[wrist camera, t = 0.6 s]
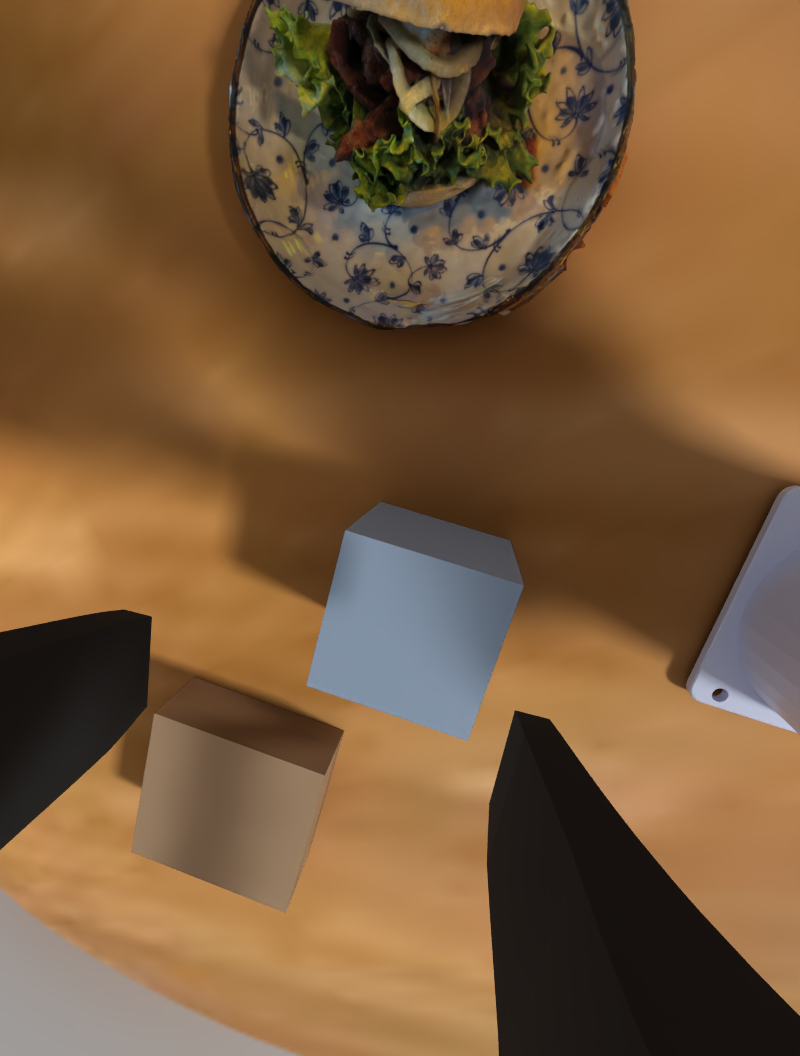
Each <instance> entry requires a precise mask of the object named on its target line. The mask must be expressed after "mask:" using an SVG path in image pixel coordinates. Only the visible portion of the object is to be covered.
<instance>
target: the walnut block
mask: <svg viewBox="0 0 800 1056" xmlns="http://www.w3.org/2000/svg"><path fill="white" fill-rule="evenodd" d="M343 733H344V731H343V730H341V729H338V728H335V727H332V726H329V725H327V724H324V723H321V722H318V721H315V720H313V719H310V718H307V717H304V716H301V715H299V714H296V713H293V712H290V711H287V710H285V709H282V708H279V707H276V706H273V705H271V704H268V703H265V702H262V701H259V700H257V699H254V698H251V697H248V696H245V695H243V694H240V693H237V692H234V691H231V690H229V689H226V688H223V687H220V686H217V685H215V684H212V683H209V682H206V681H203V680H201V679H198V678H195V677H194V678H193V679H192V680H191V681H190V682H189V683H187V684H186V685H185V686H184V687H183V688H182V689H181V690H180V691H179V692H177V693H176V694H175V695H174V696H173V697H172V698H171V699H170V700H169V701H167V702H166V703H165V704H164V705H163V706H162V707H161V708H160V709H159V710H157V711H156V712H155V713H154V718H153V724H152V730H151V736H150V742H149V748H148V754H147V760H146V766H145V772H144V778H143V784H142V790H141V796H140V802H139V808H138V814H137V820H136V826H135V832H134V838H133V844H132V850H131V852H133V853H135V854H138V855H141V856H143V857H146V858H148V859H151V860H153V861H156V862H158V863H161V864H163V865H166V866H168V867H171V868H173V869H176V870H178V871H181V872H184V873H186V874H189V875H191V876H194V877H196V878H199V879H201V880H204V881H206V882H209V883H211V884H214V885H216V886H219V887H221V888H224V889H227V890H229V891H232V892H234V893H237V894H239V895H242V896H244V897H247V898H249V899H252V900H254V901H257V902H259V903H262V904H264V905H267V906H269V907H272V908H275V909H277V910H280V911H282V912H285V913H286V911H287V908H288V906H289V903H290V901H291V898H292V895H293V893H294V890H295V888H296V885H297V883H298V880H299V877H300V875H301V872H302V870H303V867H304V864H305V862H306V859H307V857H308V854H309V850H310V847H311V843H312V840H313V837H314V833H315V830H316V826H317V823H318V819H319V816H320V812H321V809H322V805H323V802H324V798H325V795H326V791H327V788H328V785H329V781H330V778H331V774H332V771H333V767H334V764H335V760H336V757H337V753H338V750H339V746H340V743H341V740H342V736H343Z"/></svg>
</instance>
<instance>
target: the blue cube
mask: <svg viewBox="0 0 800 1056" xmlns="http://www.w3.org/2000/svg"><path fill="white" fill-rule="evenodd" d="M523 587H524V584H523V580H522V577H521V574H520V571H519V567H518V564H517V561H516V557H515V554H514V551H513V547H512V544H511V541H510V540H507V539H503V538H500V537H497V536H493V535H490V534H487V533H483V532H480V531H477V530H473V529H470V528H467V527H464V526H460V525H457V524H454V523H450V522H447V521H444V520H440V519H437V518H434V517H430V516H427V515H424V514H420V513H417V512H414V511H410V510H407V509H404V508H400V507H397V506H394V505H391V504H387V503H384V502H379V503H378V504H377V505H376V506H374V507H373V508H372V509H371V510H369V511H368V512H367V513H366V514H364V515H363V516H362V517H361V518H360V519H358V520H357V521H356V522H355V523H353V524H352V525H351V526H350V527H348V528H347V529H346V530H345V533H344V537H343V541H342V545H341V549H340V553H339V557H338V561H337V565H336V569H335V573H334V577H333V581H332V585H331V589H330V593H329V597H328V601H327V605H326V609H325V613H324V617H323V621H322V625H321V629H320V633H319V637H318V641H317V645H316V649H315V653H314V657H313V661H312V665H311V669H310V673H309V677H308V681H307V685H306V686H309V687H312V688H315V689H318V690H321V691H324V692H327V693H329V694H332V695H335V696H338V697H341V698H344V699H347V700H350V701H353V702H356V703H359V704H361V705H364V706H367V707H370V708H373V709H376V710H379V711H382V712H385V713H388V714H391V715H394V716H396V717H399V718H402V719H405V720H408V721H411V722H414V723H417V724H420V725H423V726H426V727H428V728H431V729H434V730H437V731H440V732H443V733H446V734H449V735H452V736H455V737H458V738H460V739H463V740H466V741H468V738H469V736H470V733H471V730H472V727H473V725H474V722H475V719H476V716H477V713H478V711H479V708H480V705H481V702H482V700H483V697H484V694H485V691H486V689H487V686H488V683H489V680H490V678H491V675H492V672H493V669H494V667H495V664H496V661H497V658H498V656H499V653H500V650H501V647H502V645H503V642H504V639H505V636H506V634H507V631H508V628H509V625H510V623H511V620H512V617H513V614H514V612H515V609H516V606H517V603H518V601H519V598H520V595H521V592H522V590H523Z"/></svg>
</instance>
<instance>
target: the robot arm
mask: <svg viewBox="0 0 800 1056" xmlns="http://www.w3.org/2000/svg"><path fill="white" fill-rule="evenodd" d="M151 622H152V617H151V616H147V615H143V614H139V613H135V612H132V611H128V610H116V611H107V612H100V613H94V614H89V615H83V616H78V617H73V618H68V619H63V620H58V621H53V622H48V623H43V624H38V625H33V626H29V627H24V628H19V629H14V630H9V631H4V632H0V850H1V849H2V848H3V847H4V846H5V845H6V844H7V843H8V842H9V841H11V840H12V839H13V838H14V837H15V836H16V835H17V834H18V833H19V832H20V831H22V830H23V829H24V828H25V827H26V826H27V825H28V824H29V823H30V822H31V821H33V820H34V819H35V818H36V817H37V816H38V815H39V814H40V813H41V812H43V811H44V810H45V809H46V808H47V807H48V806H49V805H50V804H51V803H52V802H54V801H55V800H56V799H57V798H58V797H59V796H60V795H61V794H62V793H64V792H65V791H66V790H67V789H68V788H69V787H70V786H71V785H72V784H73V783H74V782H76V781H77V780H78V779H79V778H80V777H81V776H82V775H83V774H84V773H85V772H86V771H87V770H89V769H90V768H91V767H92V766H93V765H94V764H95V763H96V762H97V761H98V760H99V759H100V758H101V757H103V756H104V755H105V754H106V753H107V752H108V751H109V750H110V749H111V748H112V746H113V745H114V744H115V743H116V742H117V741H118V740H119V739H120V737H121V736H122V735H123V734H124V733H125V732H126V731H127V730H128V728H129V727H130V726H131V725H132V724H133V722H134V721H135V720H136V719H137V718H138V716H139V715H140V714H141V713H142V712H143V710H144V709H145V708H146V707H147V696H148V677H149V659H150V641H151ZM686 688H687V691H688V692H689V693H690V695H691V696H692V697H693V698H694V699H695V700H697V701H699V702H701V703H705V704H708V705H711V706H714V707H717V708H720V709H723V710H726V711H729V712H733V713H736V714H739V715H742V716H745V717H748V718H751V719H754V720H757V721H761V722H764V723H767V724H770V725H773V726H776V727H779V728H782V729H785V730H789V731H792V732H795V733H798V734H799V735H800V486H795V485H793V486H789V487H786V488H785V489H783V490H782V491H781V492H780V493H779V494H778V496H777V497H776V499H775V501H774V503H773V506H772V508H771V510H770V512H769V514H768V516H767V518H766V520H765V522H764V524H763V526H762V528H761V530H760V532H759V534H758V536H757V538H756V540H755V542H754V545H753V547H752V549H751V551H750V553H749V555H748V557H747V559H746V561H745V563H744V565H743V567H742V569H741V571H740V573H739V575H738V577H737V579H736V581H735V583H734V586H733V588H732V590H731V592H730V594H729V596H728V598H727V600H726V602H725V604H724V606H723V608H722V610H721V612H720V614H719V616H718V618H717V620H716V622H715V625H714V627H713V629H712V631H711V633H710V635H709V637H708V639H707V641H706V643H705V645H704V647H703V649H702V651H701V653H700V655H699V657H698V659H697V661H696V664H695V666H694V668H693V670H692V672H691V674H690V676H689V678H688V680H687V683H686ZM719 688H721V689H722V692H721V693H720V694H719V695H716V696H713V695H712V693H713V691H714V690H716V689H719ZM487 873H488V890H489V905H490V921H491V936H492V950H493V965H494V980H495V995H496V1009H497V1024H498V1042H499V1056H800V1016H799V1015H798V1014H797V1013H796V1012H795V1011H794V1010H793V1009H792V1008H791V1007H790V1006H789V1005H788V1004H787V1003H786V1002H785V1001H784V1000H783V999H782V998H781V997H780V996H779V995H778V994H777V993H776V992H775V991H774V990H773V989H772V987H771V986H770V985H769V984H768V983H767V982H766V981H765V980H764V979H763V978H762V977H761V976H760V975H759V974H758V973H757V972H756V971H755V970H754V969H753V968H752V967H751V966H750V965H749V964H748V963H747V962H746V960H745V959H744V958H743V957H742V956H741V955H740V954H739V953H738V952H737V951H736V950H735V949H734V948H733V947H732V945H731V944H730V943H729V942H728V941H727V940H726V939H725V938H724V937H723V936H722V935H721V934H720V933H719V931H718V930H717V929H716V928H715V927H714V926H713V925H712V924H711V923H710V922H709V921H708V920H707V919H706V918H705V916H704V915H703V914H702V913H701V912H700V911H699V910H698V909H697V908H696V906H695V905H694V904H693V903H692V902H691V901H690V900H689V899H688V897H687V896H686V895H685V894H684V893H683V892H682V891H681V889H680V888H679V887H678V886H677V885H676V884H675V882H674V881H673V880H672V879H671V878H670V876H669V875H668V874H667V873H666V872H665V870H664V869H663V868H662V867H661V866H660V864H659V863H658V862H657V861H656V860H655V858H654V857H653V856H652V855H651V854H650V852H649V851H648V850H647V849H646V848H645V846H644V845H643V844H642V843H641V842H640V840H639V839H638V838H637V837H636V835H635V834H634V833H633V831H632V830H631V829H630V828H629V826H628V825H627V824H626V823H625V821H624V820H623V819H622V817H621V816H620V815H619V814H618V812H617V811H616V810H615V808H614V807H613V806H612V804H611V803H610V802H609V800H608V799H607V798H606V796H605V795H604V794H603V792H602V791H601V790H600V788H599V787H598V786H597V784H596V783H595V782H594V780H593V779H592V777H591V776H590V775H589V773H588V772H587V771H586V769H585V768H584V766H583V765H582V764H581V762H580V761H579V759H578V758H577V757H576V755H575V754H574V752H573V751H572V750H571V748H570V747H569V745H568V744H567V743H566V741H565V740H564V738H563V737H562V735H561V734H560V733H559V731H558V730H557V729H556V727H555V726H554V725H553V723H552V722H551V721H550V719H547V718H543V717H539V716H535V715H531V714H527V713H523V712H519V711H516V710H515V713H514V716H513V720H512V723H511V727H510V731H509V734H508V738H507V742H506V745H505V749H504V752H503V756H502V760H501V763H500V767H499V771H498V774H497V778H496V781H495V785H494V789H493V792H492V796H491V800H490V803H489V823H488V848H487Z"/></svg>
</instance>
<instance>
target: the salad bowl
mask: <svg viewBox="0 0 800 1056" xmlns="http://www.w3.org/2000/svg"><path fill="white" fill-rule="evenodd" d="M634 49H635V36H634V28H633V24H632V19H631V15H630V11H629V4H628V0H253V3H252V5H251V7H250V10H249V12H248V14H247V18H246V20H245V23H244V25H243V28H242V34H241V40H240V43H239V48H238V53H237V59H236V62H235V68H234V71H233V75H232V81H231V82H230V88H229V110H230V114H229V116H228V118H229V123H230V126H229V135H228V136H229V139H230V144H229V145H230V156H231V161H232V170H233V176H234V181H235V187H236V190H237V193H238V196H239V198H240V201H241V203H242V206H243V209H244V213H245V216H246V218H247V220H248V221H249V223H250V224H251V226H252V228H253V229H254V231H255V232H256V233H257V235H258V236H259V238H260V239H261V241H262V242H263V243H264V245H265V247H266V249H267V251H268V252H269V254H270V256H271V258H272V259H273V261H274V262H275V264H276V265H277V266H278V268H279V269H280V270H281V271H282V272H283V273H284V274H285V275H286V276H287V277H288V278H289V279H290V280H291V281H292V282H293V283H294V284H296V285H297V286H298V287H299V288H300V289H302V290H303V291H304V292H305V293H306V294H308V295H309V296H310V297H311V298H312V299H314V300H316V301H318V302H320V303H322V304H324V305H325V306H327V307H329V308H331V309H333V310H335V311H337V312H339V313H341V314H343V315H345V316H347V317H349V318H351V319H353V320H355V321H357V322H359V323H361V324H363V325H366V326H369V327H372V328H375V329H379V330H392V329H405V328H418V327H433V326H459V325H468V324H470V323H472V322H473V321H475V320H476V319H480V318H484V317H487V316H491V315H495V314H501V315H504V316H505V315H507V314H508V313H510V312H512V311H513V310H515V309H517V308H518V307H520V306H522V305H523V304H525V303H527V302H528V301H530V300H531V299H532V298H533V297H534V296H535V295H537V294H538V293H539V292H540V291H541V290H542V289H543V288H544V287H546V286H547V285H548V284H549V283H550V282H551V281H552V280H554V279H555V278H556V277H557V276H558V275H559V274H561V273H562V272H563V270H564V269H565V271H566V262H567V258H568V256H569V254H570V253H571V252H572V251H573V250H575V249H578V248H584V247H585V244H584V242H583V240H582V239H583V238H584V236H585V235H586V233H587V232H588V231H589V230H590V228H591V225H592V224H593V223H594V222H595V221H596V219H597V217H598V216H599V214H600V212H601V211H602V208H603V206H604V207H606V205H607V204H608V202H609V200H610V199H611V197H612V195H613V192H614V189H615V187H616V185H617V183H618V180H619V178H620V176H621V174H622V172H623V169H624V165H625V163H626V160H627V153H626V149H627V142H628V137H629V134H630V130H631V125H632V122H633V115H634V97H635V86H636V81H637V74H636V70H635V68H634V67H635V60H636V59H635V50H634Z"/></svg>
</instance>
